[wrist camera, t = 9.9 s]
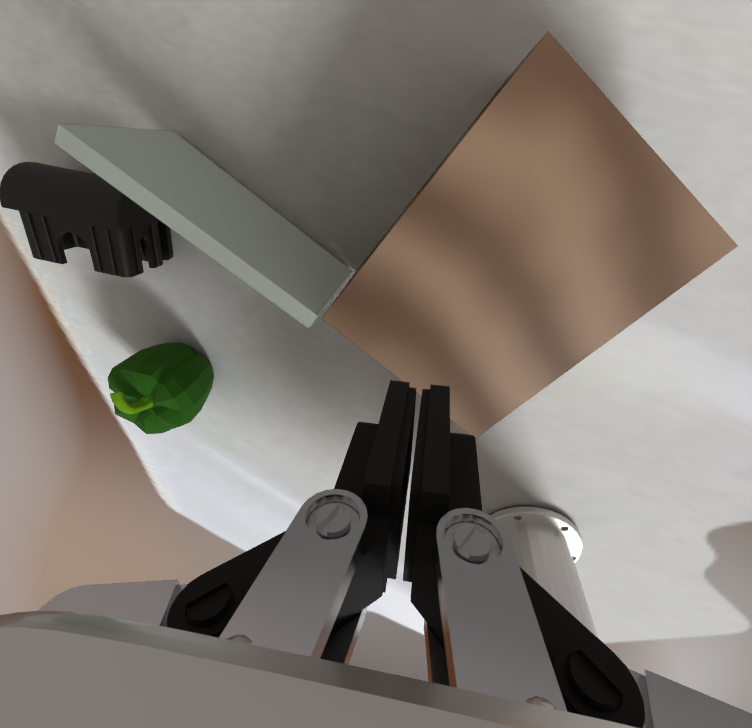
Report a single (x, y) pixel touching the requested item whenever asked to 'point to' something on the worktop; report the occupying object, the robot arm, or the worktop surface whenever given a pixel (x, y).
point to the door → (211, 213)
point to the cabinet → (526, 247)
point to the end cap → (84, 219)
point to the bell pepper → (161, 387)
